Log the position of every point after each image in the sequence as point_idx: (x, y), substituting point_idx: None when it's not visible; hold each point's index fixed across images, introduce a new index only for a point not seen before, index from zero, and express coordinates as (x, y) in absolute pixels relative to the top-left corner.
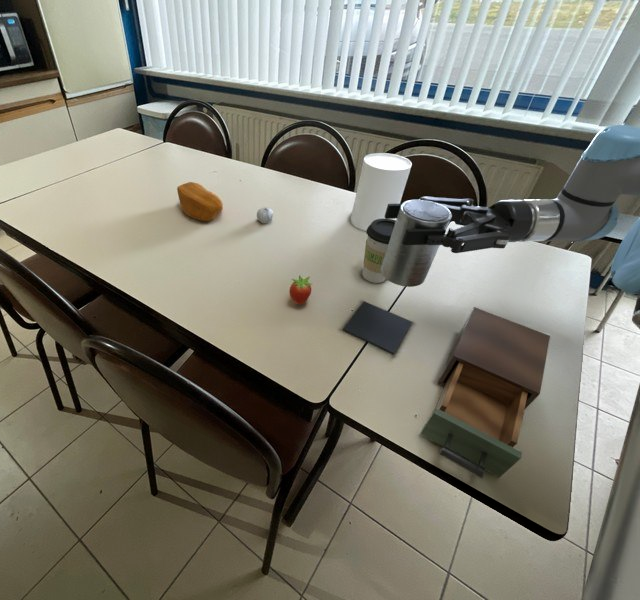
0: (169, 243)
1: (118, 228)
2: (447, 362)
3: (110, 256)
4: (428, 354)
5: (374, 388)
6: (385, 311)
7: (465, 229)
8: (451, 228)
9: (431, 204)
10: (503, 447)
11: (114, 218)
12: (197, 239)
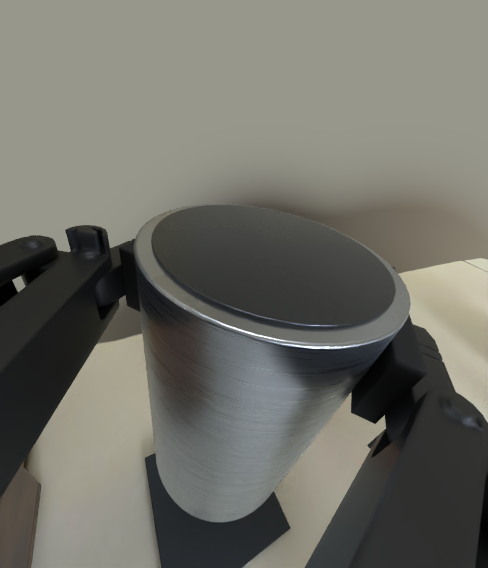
0: (446, 329)
1: (463, 306)
2: (23, 523)
3: (407, 289)
4: (82, 550)
5: (133, 380)
6: (239, 560)
7: (6, 314)
8: (96, 235)
9: (327, 290)
10: None
11: (484, 309)
12: (467, 357)
